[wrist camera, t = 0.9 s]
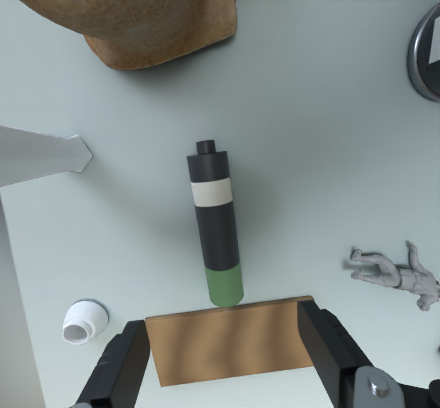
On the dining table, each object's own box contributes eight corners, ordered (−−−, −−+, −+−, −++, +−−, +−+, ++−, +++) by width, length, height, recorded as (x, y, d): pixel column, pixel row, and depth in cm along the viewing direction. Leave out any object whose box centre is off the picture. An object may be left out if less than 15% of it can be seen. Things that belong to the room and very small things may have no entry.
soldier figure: (357, 226, 27) (474, 252, 24) (342, 242, 31) (440, 266, 28) (359, 288, 23) (500, 328, 20) (341, 297, 27) (456, 331, 24)
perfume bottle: (96, 177, 23) (-99, 220, 9) (55, 173, 23) (-219, 210, 8) (95, 134, 22) (-130, 99, 8) (51, 129, 22) (-268, 83, 7)
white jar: (77, 292, 27) (64, 322, 27) (61, 309, 24) (46, 342, 25) (115, 308, 27) (100, 336, 28) (104, 326, 24) (88, 357, 25)
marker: (186, 144, 23) (181, 143, 19) (224, 139, 23) (227, 137, 19) (210, 291, 27) (210, 314, 23) (241, 286, 27) (247, 309, 23)
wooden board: (311, 295, 28) (314, 299, 27) (313, 360, 30) (315, 366, 30) (145, 317, 28) (143, 322, 27) (162, 381, 30) (160, 387, 30)
